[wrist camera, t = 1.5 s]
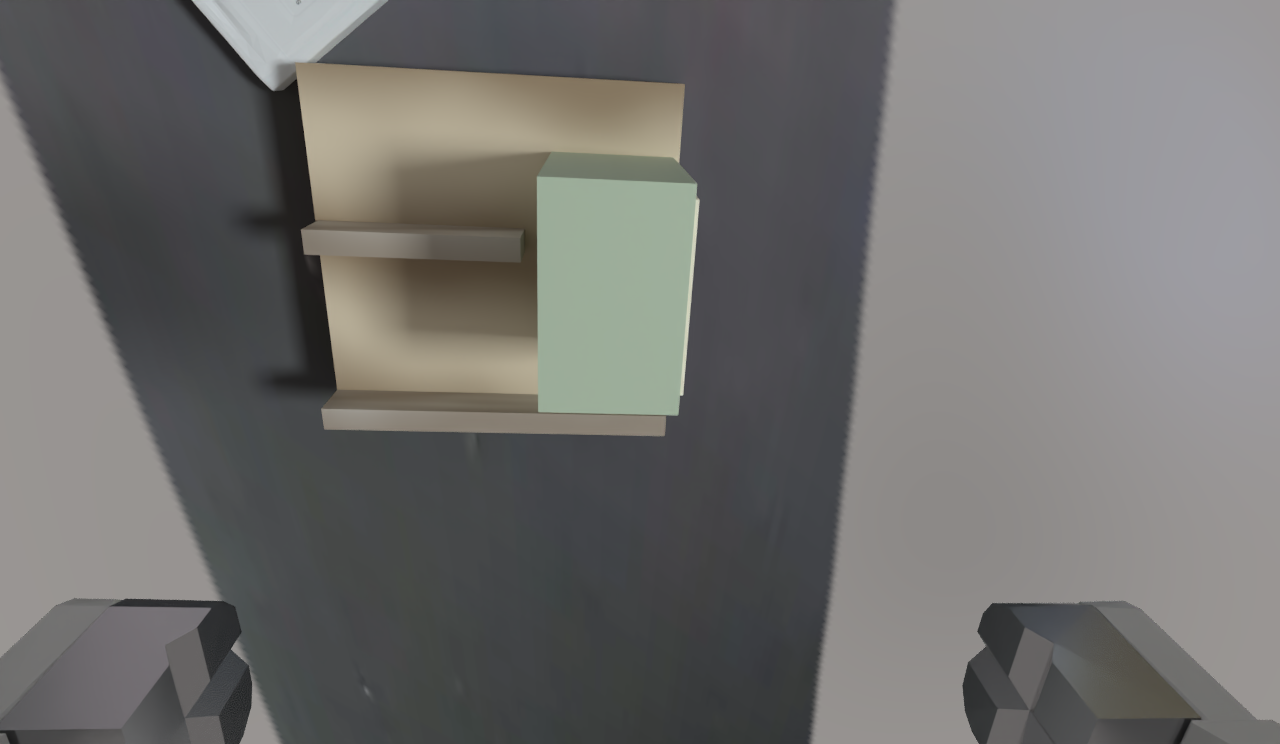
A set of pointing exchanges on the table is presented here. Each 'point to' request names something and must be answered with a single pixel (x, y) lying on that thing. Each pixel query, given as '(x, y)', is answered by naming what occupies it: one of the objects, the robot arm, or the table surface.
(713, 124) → the table surface
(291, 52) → the external hard drive
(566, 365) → the tea box
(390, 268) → the shelf
